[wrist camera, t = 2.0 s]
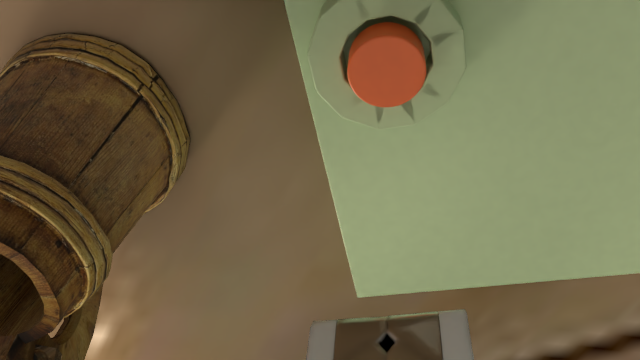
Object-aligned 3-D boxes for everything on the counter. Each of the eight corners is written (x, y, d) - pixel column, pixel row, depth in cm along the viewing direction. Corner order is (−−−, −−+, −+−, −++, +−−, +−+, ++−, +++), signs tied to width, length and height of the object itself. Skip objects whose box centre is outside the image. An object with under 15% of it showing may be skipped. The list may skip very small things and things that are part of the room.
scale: (288, -26, 24) (275, 3, 21) (667, -100, 21) (711, -78, 18) (358, 270, 33) (356, 318, 30) (630, 243, 30) (656, 294, 27)
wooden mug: (78, 263, 34) (-147, 637, 20) (-30, 41, 27) (-526, 385, 12) (227, 257, 33) (105, 652, 19) (158, 23, 25) (-141, 380, 11)
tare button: (342, 28, 22) (340, 43, 21) (419, 15, 21) (421, 29, 20) (356, 96, 23) (354, 113, 22) (428, 85, 23) (430, 102, 22)
